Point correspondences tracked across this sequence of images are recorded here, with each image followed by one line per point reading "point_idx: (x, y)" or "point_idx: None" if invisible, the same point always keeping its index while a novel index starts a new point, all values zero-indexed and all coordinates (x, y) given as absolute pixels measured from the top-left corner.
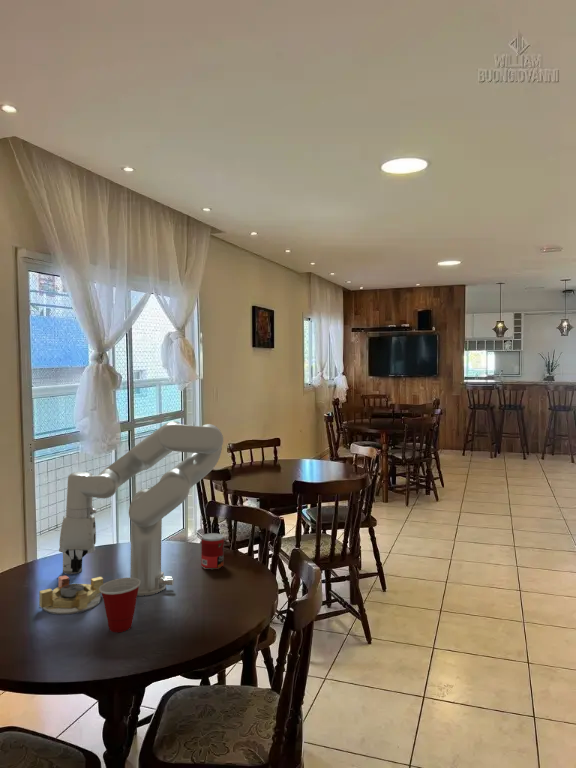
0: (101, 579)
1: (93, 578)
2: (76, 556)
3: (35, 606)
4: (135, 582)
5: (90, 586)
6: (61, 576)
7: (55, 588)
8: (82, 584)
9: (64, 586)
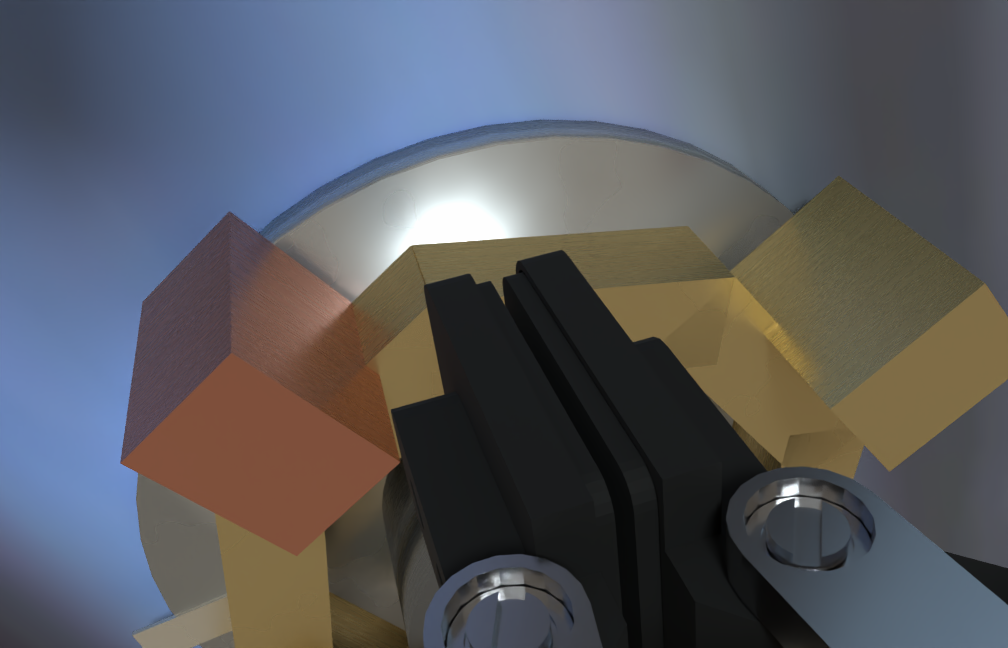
0: (1001, 377)
1: (872, 387)
2: (615, 613)
3: (95, 624)
4: None
5: (764, 355)
6: (179, 436)
7: (222, 535)
8: (610, 309)
9: (428, 603)
